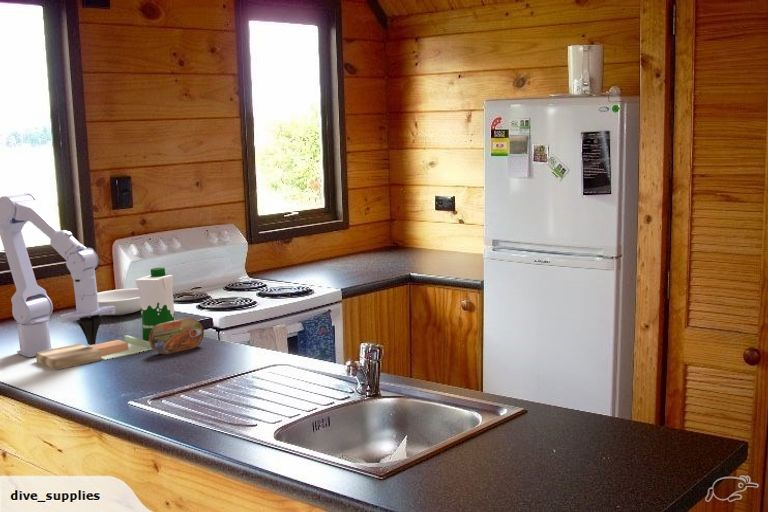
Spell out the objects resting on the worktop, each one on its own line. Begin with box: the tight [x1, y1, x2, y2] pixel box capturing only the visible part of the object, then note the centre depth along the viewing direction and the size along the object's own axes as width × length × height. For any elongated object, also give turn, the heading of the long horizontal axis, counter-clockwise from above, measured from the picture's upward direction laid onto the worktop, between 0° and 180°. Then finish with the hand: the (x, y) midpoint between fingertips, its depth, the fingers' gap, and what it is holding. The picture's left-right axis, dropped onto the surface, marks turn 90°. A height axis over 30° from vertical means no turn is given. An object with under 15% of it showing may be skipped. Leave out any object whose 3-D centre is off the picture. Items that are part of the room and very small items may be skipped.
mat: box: [101, 334, 154, 361], centre depth 250 cm, size 16×14×2 cm
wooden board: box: [35, 343, 103, 371], centre depth 241 cm, size 14×12×2 cm
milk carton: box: [134, 267, 176, 342], centre depth 260 cm, size 9×9×20 cm
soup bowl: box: [97, 287, 141, 316], centre depth 303 cm, size 24×24×7 cm
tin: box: [148, 317, 205, 355], centre depth 245 cm, size 15×3×8 cm, turn 127°
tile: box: [87, 339, 129, 356], centre depth 248 cm, size 6×9×2 cm, turn 131°
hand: (91, 344), depth 245 cm, fingers closed
